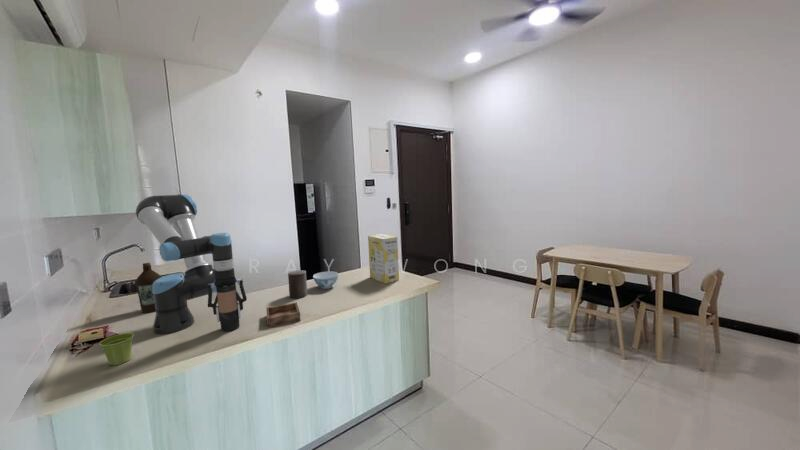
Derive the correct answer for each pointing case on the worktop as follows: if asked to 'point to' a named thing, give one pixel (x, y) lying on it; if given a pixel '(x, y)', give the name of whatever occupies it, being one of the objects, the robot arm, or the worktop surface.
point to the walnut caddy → (282, 314)
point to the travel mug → (228, 307)
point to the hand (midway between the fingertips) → (229, 318)
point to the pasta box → (383, 258)
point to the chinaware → (325, 279)
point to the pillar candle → (297, 284)
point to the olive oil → (146, 288)
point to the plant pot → (118, 348)
